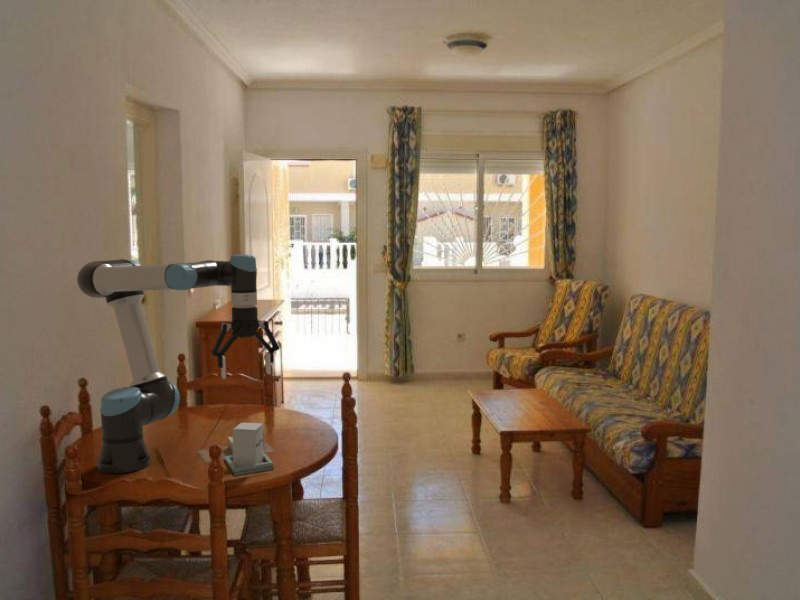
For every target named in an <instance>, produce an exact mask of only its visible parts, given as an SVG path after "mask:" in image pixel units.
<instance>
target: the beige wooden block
mask: <svg viewBox="0 0 800 600" xmlns="http://www.w3.org/2000/svg"><path fill="white" fill-rule="evenodd" d="M227 446H228V448H229V450H230V451H231V452H232V454H233V435H232V436H227Z"/></svg>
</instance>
